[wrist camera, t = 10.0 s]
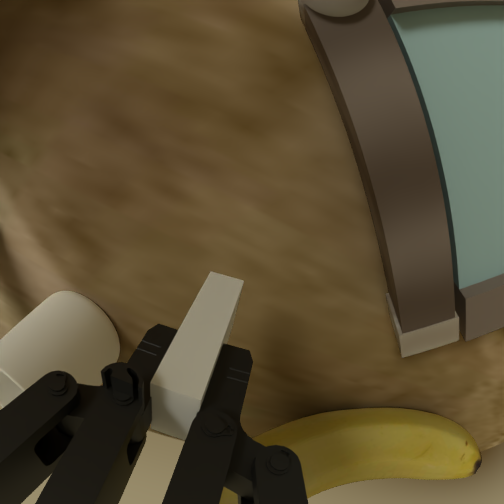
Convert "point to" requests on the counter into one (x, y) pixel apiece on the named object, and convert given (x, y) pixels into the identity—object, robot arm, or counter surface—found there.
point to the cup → (57, 344)
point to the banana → (373, 447)
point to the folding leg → (390, 165)
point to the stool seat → (463, 137)
